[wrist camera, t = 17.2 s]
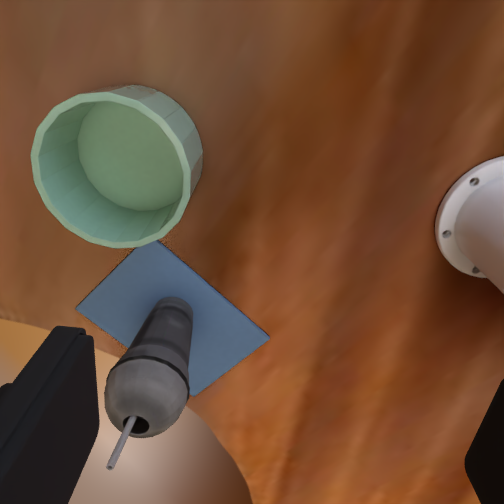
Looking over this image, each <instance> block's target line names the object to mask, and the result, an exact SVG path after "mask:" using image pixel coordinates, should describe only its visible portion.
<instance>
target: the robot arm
mask: <svg viewBox="0 0 504 504" xmlns="http://www.w3.org/2000/svg"><path fill="white" fill-rule="evenodd" d="M471 179H472V181H470V180H471ZM444 231H445V232H444ZM435 236H436V241H437V244H438V247H439V250H440V251H441V253H442V254H443V256H444V257H445V258H446V259H447V260H448V261H449V263H450V264H451V265H452V266H454V267H455V268H457V269H458V270H459V271H461V272H463V273H466V274H468V275H471V276H475V277H480V278H488V279H489V280H490V281H491V282H492V283H493V284H494V285H495V286H496V287H497V288H498V289H499V290H500V291H501V292H502V293H503V294H504V156H502V157H498V158H495V159H492V160H488V161H486V162H484V163H482V164H480V165H478V166H476V167H474V168H473V169H471V170H470V171H468V172H467V173H466V174H464V175H463V176H462V177H461V178H460V179H459V180H458V181H457V182H456V183H455V184H454V185H453V186H452V187H451V188H450V190H449V191H448V192H447V194H446V195H445V197H444V199H443V201H442V203H441V205H440V207H439V209H438V213H437V216H436V221H435ZM98 430H99V408H98V394H97V382H96V368H95V353H94V340H93V337H92V336H90V335H86V331H85V329H83V328H76V327H66V326H56V327H55V328H54V329H53V330H52V331H51V333H50V334H49V335H48V337H47V338H46V339H45V341H44V342H43V343H42V345H41V346H40V347H39V348H38V350H37V351H36V352H35V354H34V355H33V357H32V358H31V359H30V360H29V362H28V363H27V364H26V366H25V367H24V368H23V370H22V371H21V372H20V373H19V375H18V376H17V377H16V379H15V380H14V381H13V383H6V384H5V385H3V386H1V387H0V504H68V502H69V500H70V498H71V496H72V493H73V491H74V488H75V486H76V484H77V482H78V479H79V477H80V474H81V472H82V470H83V468H84V465H85V463H86V461H87V459H88V456H89V454H90V452H91V449H92V447H93V445H94V442H95V440H96V437H97V434H98ZM465 470H466V473H467V476H468V478H469V480H470V482H471V484H472V486H473V488H474V490H475V492H476V494H477V496H478V498H479V500H480V502H481V504H504V379H503V380H502V381H501V383H500V385H499V387H498V390H497V392H496V394H495V396H494V398H493V400H492V402H491V404H490V406H489V408H488V410H487V413H486V415H485V417H484V419H483V421H482V423H481V425H480V427H479V429H478V431H477V433H476V436H475V438H474V440H473V442H472V444H471V446H470V448H469V450H468V452H467V454H466V457H465Z"/></svg>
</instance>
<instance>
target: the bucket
mask: <svg viewBox="0 0 504 504" xmlns="http://www.w3.org/2000/svg"><path fill="white" fill-rule="evenodd" d="M31 163H32V171H33V178H34V183H35V185H36V188H37V190H38V192H39V194H40V196H41V198H42V200H43V202H44V204H45V206H46V207H47V209H48V210H49V211H50V212H51V213H52V214H53V215H54V216H55V217H56V218H57V219H58V221H59V222H60V223H61V224H62V225H63V226H64V227H65V228H66V229H68V230H70V231H71V232H73V233H75V234H76V235H78V236H80V237H81V238H83V239H85V240H86V241H88V242H91V243H95V244H99V245H103V246H106V247H110V248H115V249H117V248H133V247H142V246H144V245H146V244H149V243H151V242H153V241H156V240H158V239H161V238H162V237H164V236H165V235H166V234H167V233H168V232H169V231H170V230H171V229H172V228H173V227H174V226H175V225H176V224H177V223H178V222H179V221H180V219H181V217H182V215H183V213H184V211H185V209H186V207H187V205H188V203H189V201H190V198H191V196H192V194H193V192H194V190H195V188H196V185H197V183H198V181H199V179H200V176H201V174H202V165H203V149H202V144H201V140H200V136H199V134H198V131H197V129H196V127H195V125H194V123H193V121H192V120H191V118H190V117H189V115H188V114H187V113H186V112H185V110H184V109H183V108H182V107H181V106H180V105H179V104H178V103H176V102H175V101H174V100H173V99H171V98H170V97H168V96H167V95H165V94H163V93H162V92H160V91H157V90H155V89H152V88H149V87H145V86H140V85H136V84H134V85H121V86H111V87H107V88H103V89H98V90H94V91H90V92H86V93H81V94H77V95H76V96H74V97H72V98H70V99H68V100H66V101H64V102H62V103H60V104H58V105H56V106H55V107H54V108H52V110H51V111H50V112H49V114H48V115H47V116H46V117H45V119H44V120H43V121H42V123H41V124H40V125H39V126H38V128H37V130H36V134H35V138H34V142H33V146H32V150H31Z"/></svg>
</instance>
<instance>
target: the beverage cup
mask: <svg viewBox="0 0 504 504" xmlns="http://www.w3.org/2000/svg"><path fill="white" fill-rule="evenodd" d="M192 329H193V310H192V308H191V306H190V305H189V304H188V303H187V302H186V301H184V300H183V299H180V298H178V297H165V298H163V299H161V300H159V301H158V302H157V303H156V304H155V307H154V308H153V309H152V310H151V311H150V313H149V315H148V316H147V318H146V320H145V321H144V323H143V325H142V326H141V328H140V330H139V331H138V333H137V335H136V336H135V338H134V340H133V341H132V343H131V345H130V346H129V348H128V350H127V351H126V353H125V354H124V355H123V356H122V357H121V358H120V360H119V361H118V362H117V363H116V365H115V366H114V367H113V368H112V369H111V370H110V372H109V374H108V377H107V380H106V387H105V392H104V395H105V409H106V412H107V414H108V417H109V419H110V421H111V422H112V424H113V425H114V426H115V427H116V428H117V429H118V430H119V431H121V432H122V434H121V436H120V438H119V440H118V443H117V445H116V447H115V449H114V451H113V453H112V455H111V457H110V459H109V462H108V464H107V466H106V468H107V469H108V470H112V469H113V468H114V466H115V464H116V462H117V460H118V457H119V455H120V453H121V451H122V449H123V447H124V444H125V442H126V440H127V438H128V436H131V437H135V438H146V437H153V436H155V435H158V434H160V433H162V432H164V431H165V430H167V429H168V428H169V427H170V426H171V425H173V424H174V423H175V422H176V421H177V419H178V418H179V416H180V414H181V412H182V411H183V409H184V407H185V404H186V403H187V401H188V399H189V393H190V387H189V372H188V366H189V357H190V347H191V338H192Z"/></svg>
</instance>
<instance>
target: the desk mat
mask: <svg viewBox="0 0 504 504" xmlns="http://www.w3.org/2000/svg"><path fill="white" fill-rule="evenodd" d="M165 297H178V298H180V299H183V300H184V301H186V302H187V303H188V304H189V305H190V306H191V308H192V310H193V329H192V338H191V347H190V357H189V366H188V372H189V387H190V393H189V394H191V395H192V396H193V397H194V396H196V395H197V394H198V393H200V392H201V391H202V390H203V389H205V388H206V387H207V386H209V385H210V384H211V383H213V382H214V381H215V380H217V379H218V378H219V377H220V376H222V375H223V374H224V373H226V372H227V371H228V370H230V369H231V368H232V367H234V366H235V365H236V364H238V363H239V362H240V361H241V360H243V359H244V358H245V357H247V356H248V355H249V354H251V353H252V352H253V351H255V350H256V349H257V348H259V347H260V346H261V345H262V344H264V343H265V342H266V341H268V340H269V339H270V337H269V336H268V335H267V334H266V333H265V332H264V331H263V330H261V329H260V328H259V327H258V326H257V325H256V324H254V323H253V322H252V321H251V320H250V319H249V318H248V317H246V316H245V315H244V314H243V313H242V312H241V311H239V310H238V309H237V308H236V307H235V306H234V305H232V304H231V303H230V302H229V301H228V300H227V299H226V298H224V297H223V296H222V295H221V294H220V293H219V292H217V291H216V290H215V289H214V288H213V287H212V286H210V285H209V284H208V283H207V282H206V281H205V280H204V279H202V278H201V277H200V276H199V275H198V274H197V273H195V272H194V271H193V270H192V269H191V268H190V267H188V266H187V265H186V264H185V263H184V262H183V261H182V260H180V259H179V258H178V257H177V256H176V255H175V254H173V253H172V252H171V251H170V250H169V249H168V248H166V247H165V246H164V245H163V244H162V243H161V242H160V241H158V240H156V241H153V242H151V243H149V244H146V245H144V246H142V247H136V248H135V249H134V250H133V251H132V252H131V253H130V254H129V255H128V256H127V257H126V258H125V259H124V260H123V261H122V262H121V263H120V264H119V265H118V266H117V267H116V268H115V269H114V270H113V271H112V272H111V273H110V274H109V275H108V276H107V277H106V278H105V279H104V280H103V281H102V282H101V283H100V284H99V285H98V286H97V287H96V288H95V289H94V290H93V291H92V292H91V293H90V294H89V295H88V296H87V297H86V298H85V299H84V300H83V301H82V302H81V303H80V304H79V305H78V306H77V307H76V308H75V309H76V310H77V311H79V312H80V313H81V314H83V315H84V316H85V317H87V318H88V319H89V320H91V321H92V322H93V323H95V324H96V325H97V326H99V327H100V328H101V329H103V330H104V331H106V332H107V333H108V334H110V335H111V336H112V337H114V338H115V339H116V340H118V341H119V342H120V343H122V344H123V345H124V346H126V347H127V348H129V346H130V345H131V343H132V341H133V340H134V338H135V336H136V335H137V333H138V331H139V330H140V328H141V326H142V325H143V323H144V321H145V320H146V318H147V316H148V315H149V313H150V311H151V310H152V309H153V308H154V307H155V304H156V303H157V302H158V301H159V300H161V299H163V298H165Z"/></svg>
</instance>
